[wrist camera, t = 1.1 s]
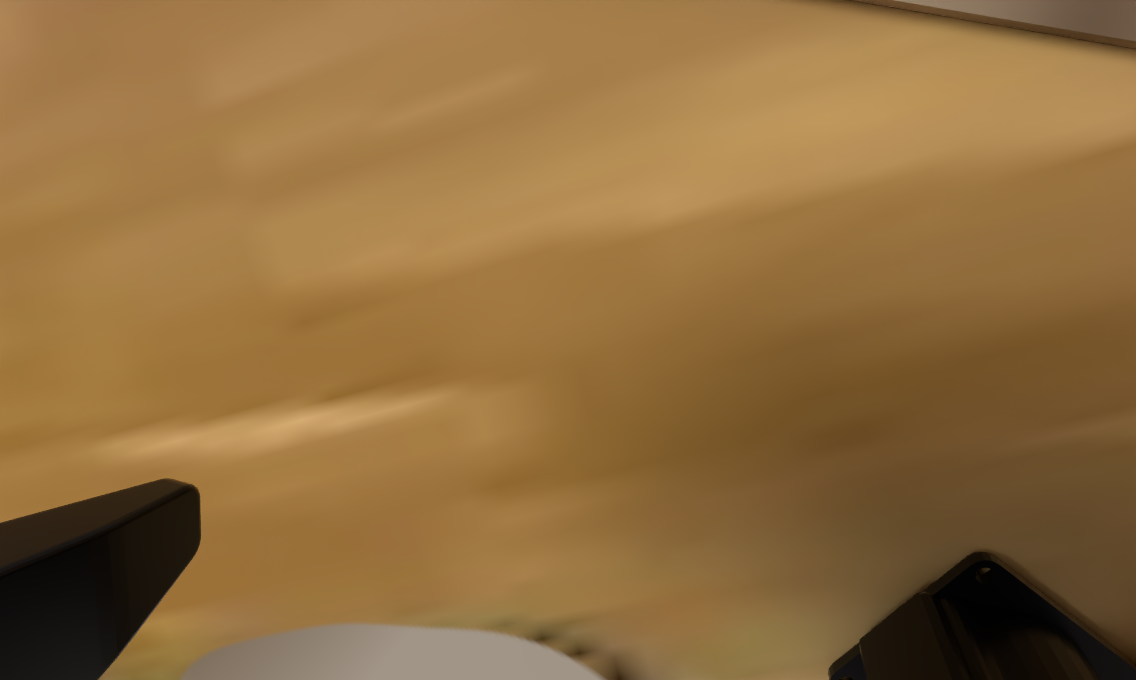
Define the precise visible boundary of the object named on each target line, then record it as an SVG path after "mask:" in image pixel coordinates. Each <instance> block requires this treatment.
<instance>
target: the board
mask: <svg viewBox="0 0 1136 680" xmlns="http://www.w3.org/2000/svg"><path fill="white" fill-rule="evenodd" d="M853 1H859V2H865V3H871V4H877V5H882V6H888V7H894V8H900V9H906V10H912V11H918V12H923V13H929V14H935V15H941V16H947V17H953V18H959V19H964V20H970V21H976V22H982V23H988V24H994V25H999V26H1005V27H1011V28H1017V29H1023V30H1029V31H1035V32H1040V33H1046V34H1052V35H1058V36H1064V37H1070V38H1076V39H1081V40H1087V41H1093V42H1099V43H1105V44H1111V45H1117V46H1122V47H1128V48H1134V49H1136V0H853Z"/></svg>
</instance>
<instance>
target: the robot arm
mask: <svg viewBox="0 0 1136 680" xmlns="http://www.w3.org/2000/svg"><path fill="white" fill-rule="evenodd" d="M200 540H201V515H200V493H199V491H198V489H197V487H195V486H194V485H192V484H188V483H185V482H181V481H178V480H174V479H168V478H167V479H160V480H157V481H153V482H149V483H145V484H142V485H138V486H134V487H131V488H127V489H123V490H120V491H116V492H112V493H109V494H105V495H101V496H98V497H94V498H90V499H86V500H83V501H79V502H75V503H72V504H68V505H64V506H61V507H57V508H53V509H50V510H46V511H42V512H38V513H35V514H31V515H27V516H24V517H20V518H16V519H13V520H9V521H5V522H2V523H0V680H98V679H99V678H100V677H101V676H102V674H103V673H104V672H105V671H106V670H107V669H108V668H109V666H110V665H111V664H112V663H113V662H114V661H115V659H116V658H117V657H118V656H119V655H120V653H121V652H122V651H123V650H124V648H125V647H126V646H127V645H128V643H129V642H130V641H131V640H132V638H133V637H134V636H135V634H136V633H137V632H138V630H139V629H140V628H141V626H142V625H143V624H144V622H145V621H146V620H147V618H148V617H149V616H150V614H151V613H152V612H153V610H154V609H155V608H156V606H157V605H158V604H159V602H160V601H161V600H162V598H163V597H164V596H165V594H166V593H167V592H168V591H169V589H170V588H171V587H172V585H173V584H174V583H175V581H176V580H177V579H178V577H179V576H180V575H181V573H182V572H183V571H184V569H185V568H186V567H187V565H188V564H189V563H190V561H191V560H192V559H193V557H194V556H195V554H196V552H197V550H198V547H199V545H200ZM981 568H990V570H989V572H988V573H986V574H976V572H977V571H978V570H979V569H981ZM828 676H829V680H841V679H840V678H842V677H850V678H851V679H849V680H1136V665H1135V664H1134V663H1133V662H1131V661H1130V660H1129V659H1127V658H1126V657H1125V656H1124V655H1122V654H1121V653H1120V652H1118V651H1117V650H1116V649H1115V648H1113V647H1112V646H1111V645H1109V644H1108V643H1107V642H1105V641H1104V640H1103V639H1102V638H1100V637H1099V636H1098V635H1096V634H1095V633H1094V632H1092V631H1091V630H1090V629H1089V628H1087V627H1086V626H1085V625H1083V624H1082V623H1081V622H1079V621H1078V620H1077V619H1076V618H1074V617H1073V616H1072V615H1070V614H1069V613H1068V612H1066V611H1065V610H1064V609H1063V608H1061V607H1060V606H1059V605H1057V604H1056V603H1055V602H1053V601H1052V600H1051V599H1050V598H1048V597H1047V596H1046V595H1044V594H1043V593H1042V592H1040V591H1039V590H1038V589H1037V588H1035V587H1034V586H1033V585H1031V584H1030V583H1029V582H1027V581H1026V580H1025V579H1024V578H1022V577H1021V576H1020V575H1018V574H1017V573H1016V572H1014V571H1013V570H1012V569H1011V568H1009V567H1008V566H1007V565H1005V564H1004V563H1003V562H1002V561H1000V560H999V559H998V558H996V557H995V556H993V555H991V554H989V553H985V552H978V553H973V554H971V555H969V556H967V557H966V558H965V559H964V560H962V561H961V562H960V563H959V564H957V565H956V566H955V567H954V568H952V569H951V570H950V571H949V572H947V573H946V574H945V575H944V576H942V577H941V578H940V579H938V580H937V581H936V582H935V583H933V584H932V585H931V586H930V587H928V588H927V589H926V590H925V591H923V592H922V593H918V594H916V595H915V596H914V597H912V598H911V599H910V600H909V601H907V602H906V603H905V604H904V605H902V606H901V607H900V608H899V609H897V610H896V611H895V612H894V613H892V614H891V615H890V616H889V617H887V618H886V619H885V620H884V621H882V622H881V623H880V624H879V625H877V626H876V627H875V628H874V629H872V630H871V631H870V632H869V633H867V634H866V635H865V636H864V637H862V638H861V639H860V642H859V643H858V644H857V645H856V646H855V647H853V648H852V649H851V650H850V651H848V652H847V653H846V654H845V655H843V656H842V657H841V658H840V659H838V660H837V661H836V662H835V663H833V664H832V665H831V667H830V668H829V671H828Z"/></svg>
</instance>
